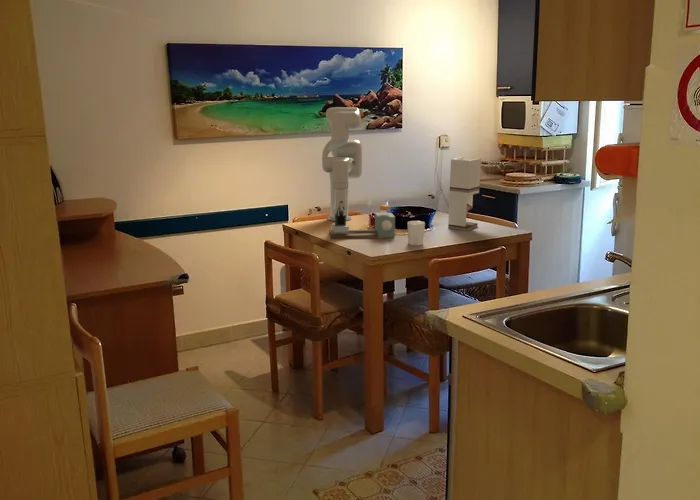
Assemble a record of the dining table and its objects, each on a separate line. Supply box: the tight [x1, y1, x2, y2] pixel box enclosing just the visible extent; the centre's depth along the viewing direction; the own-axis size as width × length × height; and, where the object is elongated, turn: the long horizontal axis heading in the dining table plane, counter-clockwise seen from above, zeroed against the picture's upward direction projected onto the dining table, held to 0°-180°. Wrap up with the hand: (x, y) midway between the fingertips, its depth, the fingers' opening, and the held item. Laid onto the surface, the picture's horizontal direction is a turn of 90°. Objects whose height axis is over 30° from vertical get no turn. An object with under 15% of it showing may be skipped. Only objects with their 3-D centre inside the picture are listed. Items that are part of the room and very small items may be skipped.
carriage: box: [331, 214, 350, 234], centre depth 317 cm, size 9×7×9 cm
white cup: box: [407, 220, 426, 246], centre depth 302 cm, size 8×8×10 cm
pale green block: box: [374, 212, 396, 239], centre depth 319 cm, size 11×8×10 cm
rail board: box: [328, 229, 378, 240], centre depth 318 cm, size 12×22×3 cm, turn 96°
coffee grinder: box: [447, 157, 482, 232], centre depth 334 cm, size 11×11×35 cm
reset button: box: [379, 204, 391, 211], centre depth 317 cm, size 5×5×2 cm
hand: (340, 222), depth 316 cm, fingers open, 6 cm apart
